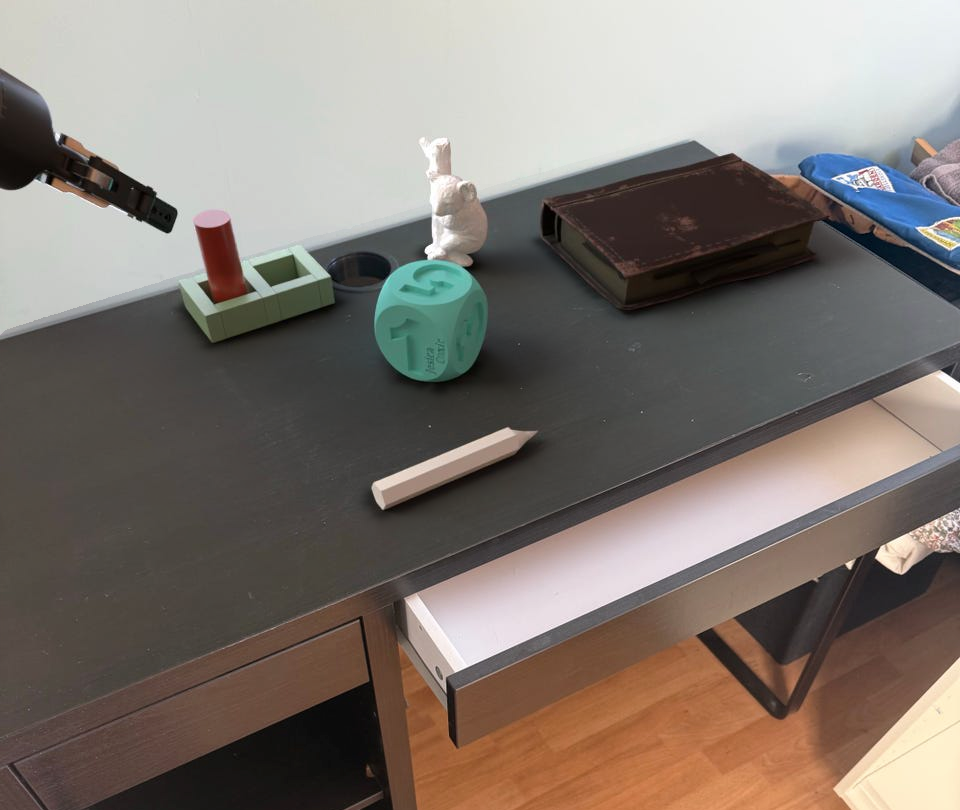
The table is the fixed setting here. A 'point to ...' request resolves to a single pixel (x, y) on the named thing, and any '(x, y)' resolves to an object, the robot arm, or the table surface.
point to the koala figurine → (452, 209)
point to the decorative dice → (431, 320)
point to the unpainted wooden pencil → (448, 466)
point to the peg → (220, 255)
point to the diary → (680, 230)
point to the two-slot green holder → (261, 294)
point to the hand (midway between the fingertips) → (138, 206)
